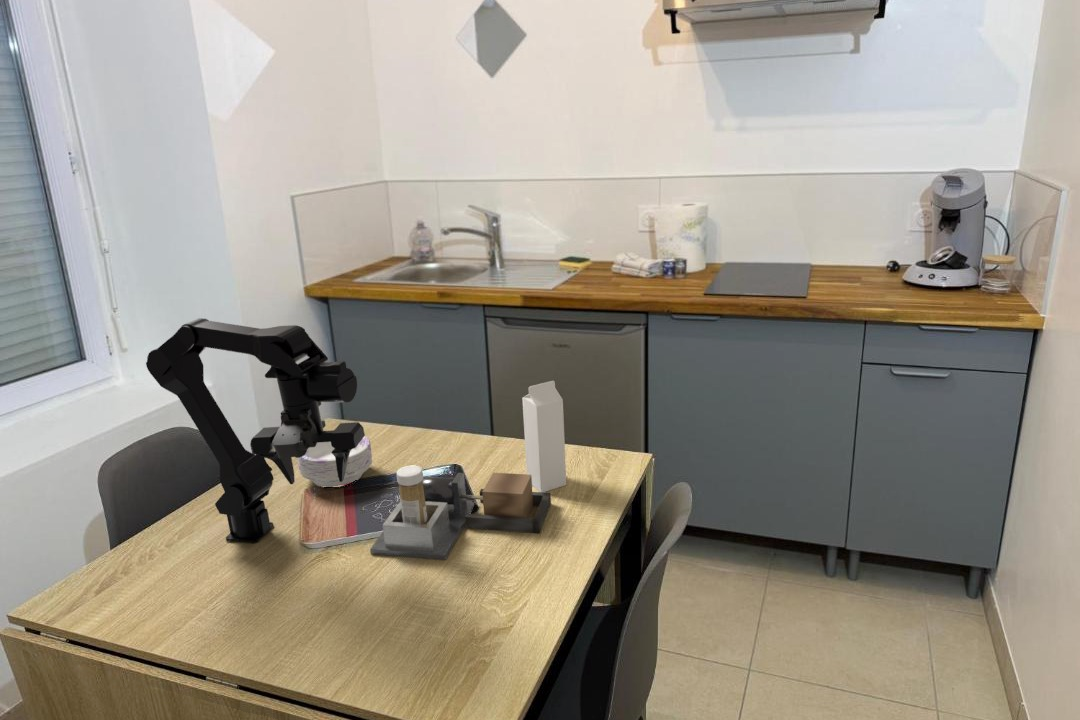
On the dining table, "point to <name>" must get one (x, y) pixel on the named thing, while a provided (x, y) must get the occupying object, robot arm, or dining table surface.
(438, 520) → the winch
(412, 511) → the sprinkles bottle
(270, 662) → the dining table surface
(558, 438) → the milk
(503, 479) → the crate bay
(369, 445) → the paper bowls
